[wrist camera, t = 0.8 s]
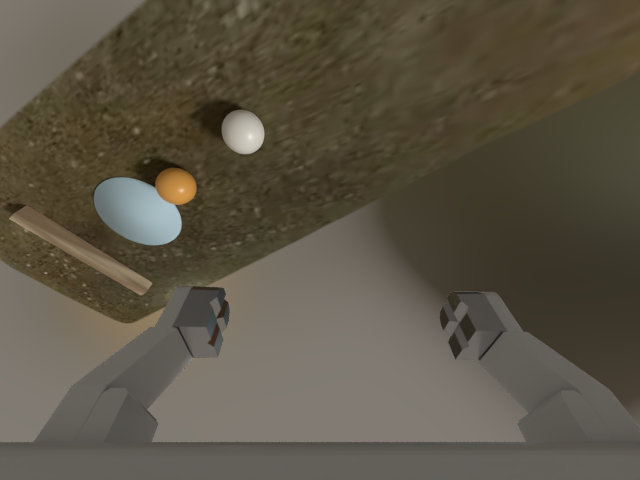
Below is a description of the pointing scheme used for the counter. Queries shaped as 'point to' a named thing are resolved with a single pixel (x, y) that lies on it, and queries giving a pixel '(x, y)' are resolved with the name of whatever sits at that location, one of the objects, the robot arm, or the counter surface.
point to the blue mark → (137, 211)
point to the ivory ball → (242, 131)
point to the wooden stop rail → (79, 249)
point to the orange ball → (175, 186)
